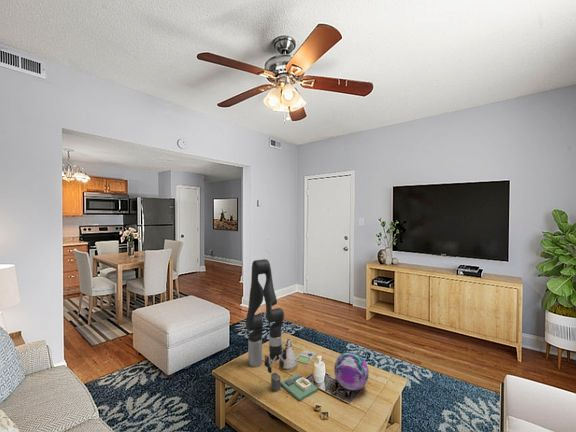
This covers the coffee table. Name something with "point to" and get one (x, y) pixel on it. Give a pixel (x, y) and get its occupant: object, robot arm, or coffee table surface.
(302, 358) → the handheld gaming console
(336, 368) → the decorative sphere
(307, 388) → the header board
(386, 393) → the coffee table surface
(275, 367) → the coffee table surface
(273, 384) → the plug
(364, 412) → the coffee table surface
